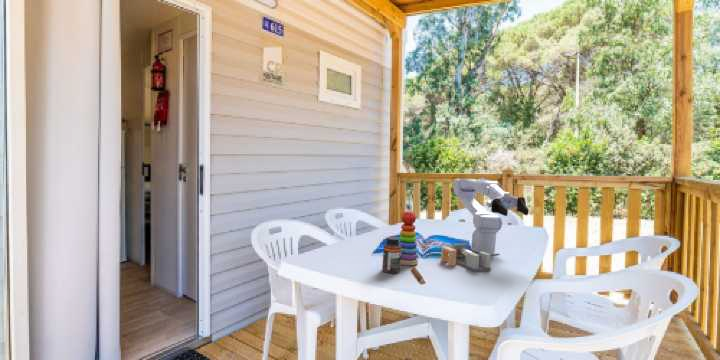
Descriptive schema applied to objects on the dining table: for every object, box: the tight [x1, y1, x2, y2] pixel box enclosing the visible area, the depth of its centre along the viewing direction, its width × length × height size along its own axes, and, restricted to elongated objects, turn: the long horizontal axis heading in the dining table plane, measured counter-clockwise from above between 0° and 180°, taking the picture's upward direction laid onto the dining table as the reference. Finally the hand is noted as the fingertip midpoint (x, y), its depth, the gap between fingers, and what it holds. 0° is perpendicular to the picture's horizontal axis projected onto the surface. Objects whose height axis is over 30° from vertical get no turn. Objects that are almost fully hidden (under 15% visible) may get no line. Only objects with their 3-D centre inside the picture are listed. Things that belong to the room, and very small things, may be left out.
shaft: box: [453, 243, 481, 261], centre depth 144 cm, size 12×5×5 cm, turn 23°
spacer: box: [440, 245, 457, 267], centre depth 143 cm, size 3×5×6 cm, turn 23°
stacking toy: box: [398, 210, 419, 266], centre depth 140 cm, size 8×8×19 cm
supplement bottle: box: [382, 236, 401, 274], centre depth 130 cm, size 6×6×11 cm
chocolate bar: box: [410, 265, 427, 284], centre depth 126 cm, size 3×12×2 cm, turn 6°
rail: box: [448, 251, 492, 273], centre depth 144 cm, size 18×7×6 cm, turn 23°
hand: (516, 213), depth 138 cm, fingers open, 7 cm apart
